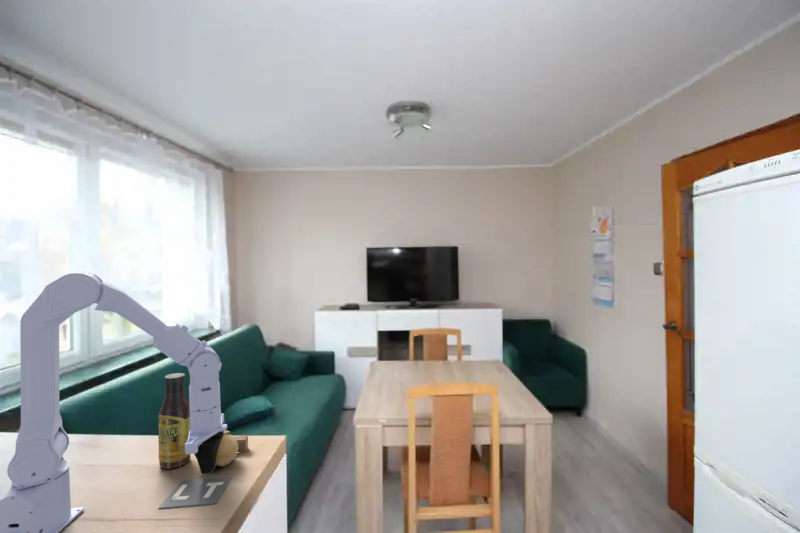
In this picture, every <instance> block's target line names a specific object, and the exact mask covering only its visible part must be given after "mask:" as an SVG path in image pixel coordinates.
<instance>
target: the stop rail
mask: <svg viewBox="0 0 800 533" xmlns="http://www.w3.org/2000/svg"><path fill="white" fill-rule="evenodd" d="M233 437H234V438H235V439H236V440H237V443H238V452H242V453H246V452H247V451H248V450H249V436H248V435H239V436H233Z"/></svg>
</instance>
